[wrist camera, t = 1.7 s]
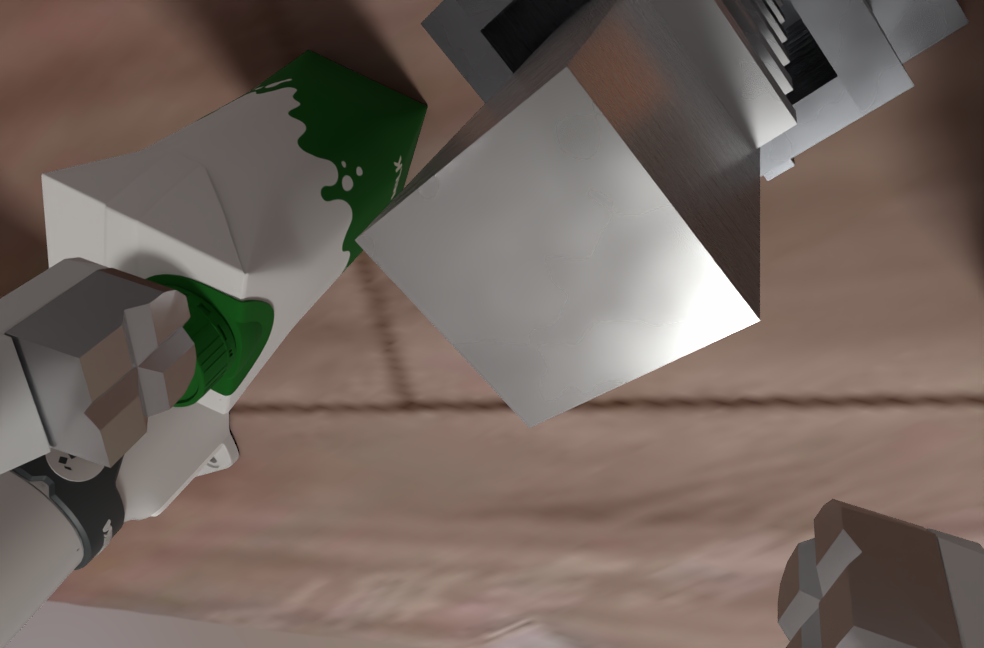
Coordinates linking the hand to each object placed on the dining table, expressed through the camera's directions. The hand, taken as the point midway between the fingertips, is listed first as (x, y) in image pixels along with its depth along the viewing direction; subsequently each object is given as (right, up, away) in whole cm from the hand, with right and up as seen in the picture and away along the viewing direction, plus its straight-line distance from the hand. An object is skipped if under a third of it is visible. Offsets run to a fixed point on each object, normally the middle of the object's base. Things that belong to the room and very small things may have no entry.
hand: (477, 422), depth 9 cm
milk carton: (-7, +12, +31) cm, 35 cm away
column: (+8, +15, +21) cm, 28 cm away
